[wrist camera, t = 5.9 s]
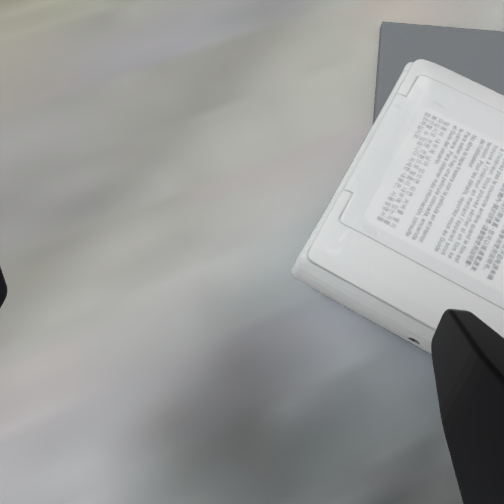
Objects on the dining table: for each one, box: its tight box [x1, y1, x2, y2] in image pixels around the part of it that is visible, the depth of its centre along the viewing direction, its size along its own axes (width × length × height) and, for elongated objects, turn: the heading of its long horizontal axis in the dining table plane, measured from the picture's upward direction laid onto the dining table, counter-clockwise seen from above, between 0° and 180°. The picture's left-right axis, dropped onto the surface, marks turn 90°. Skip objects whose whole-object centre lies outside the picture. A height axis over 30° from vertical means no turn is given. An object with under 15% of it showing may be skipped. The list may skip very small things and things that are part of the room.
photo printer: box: [292, 59, 504, 355], centre depth 16 cm, size 10×4×12 cm
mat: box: [373, 22, 504, 124], centre depth 19 cm, size 14×12×1 cm
